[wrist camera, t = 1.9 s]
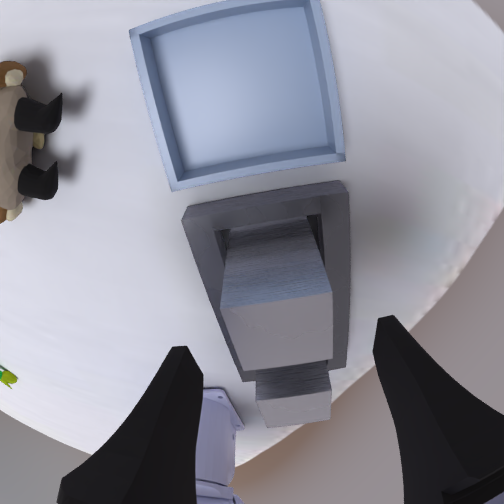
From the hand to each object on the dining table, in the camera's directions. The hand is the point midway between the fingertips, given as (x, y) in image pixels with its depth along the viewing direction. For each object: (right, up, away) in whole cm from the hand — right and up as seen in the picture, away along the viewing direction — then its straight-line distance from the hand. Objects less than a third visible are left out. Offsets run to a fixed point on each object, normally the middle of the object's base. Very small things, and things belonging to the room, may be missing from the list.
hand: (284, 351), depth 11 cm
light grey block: (0, +4, +6) cm, 7 cm away
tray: (-2, +11, +1) cm, 12 cm away
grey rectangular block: (+1, -2, +10) cm, 10 cm away
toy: (-18, +12, +2) cm, 21 cm away
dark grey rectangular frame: (+1, +1, +8) cm, 8 cm away
